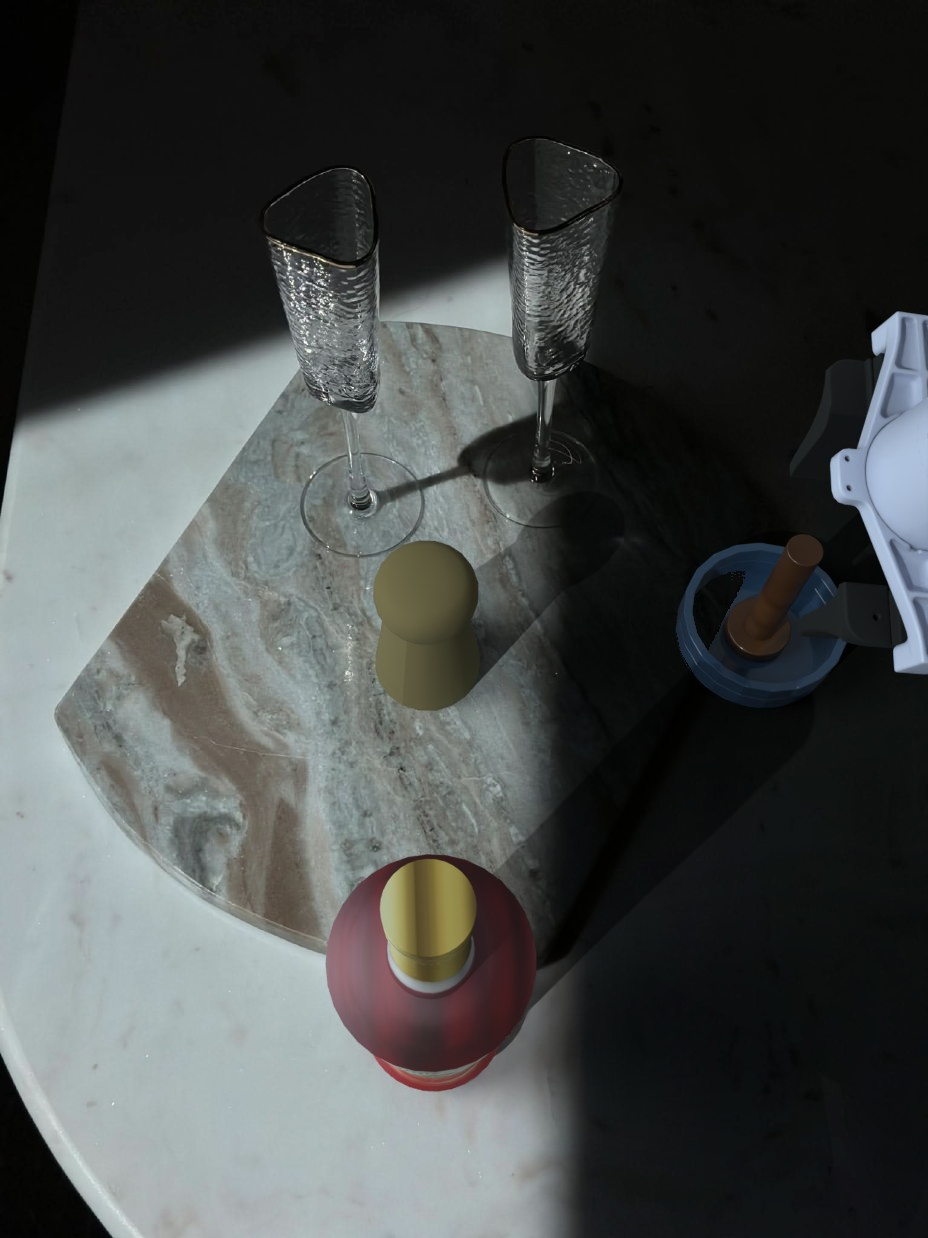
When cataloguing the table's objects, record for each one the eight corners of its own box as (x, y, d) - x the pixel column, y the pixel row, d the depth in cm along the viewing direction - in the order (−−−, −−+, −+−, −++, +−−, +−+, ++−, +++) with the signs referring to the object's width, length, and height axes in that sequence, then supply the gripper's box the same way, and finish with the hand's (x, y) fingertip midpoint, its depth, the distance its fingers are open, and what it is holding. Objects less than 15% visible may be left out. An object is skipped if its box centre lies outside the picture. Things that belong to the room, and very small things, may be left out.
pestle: (796, 622, 66) (852, 537, 57) (772, 673, 65) (826, 594, 56) (738, 594, 67) (785, 506, 58) (713, 644, 65) (757, 562, 56)
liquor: (361, 1102, 55) (293, 1056, 30) (359, 945, 58) (296, 784, 33) (513, 1094, 56) (572, 1041, 30) (503, 938, 59) (549, 773, 33)
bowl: (854, 610, 67) (871, 587, 64) (796, 738, 64) (812, 719, 61) (712, 543, 69) (723, 517, 66) (648, 664, 65) (657, 643, 63)
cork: (429, 596, 67) (427, 498, 57) (503, 665, 65) (514, 577, 55) (352, 663, 65) (336, 574, 55) (426, 736, 63) (423, 658, 53)
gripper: (892, 240, 42) (728, 395, 55) (921, 631, 38) (739, 698, 51) (1061, 267, 43) (863, 412, 56) (1104, 645, 40) (882, 707, 53)
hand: (813, 549), depth 54 cm, fingers open, 7 cm apart
